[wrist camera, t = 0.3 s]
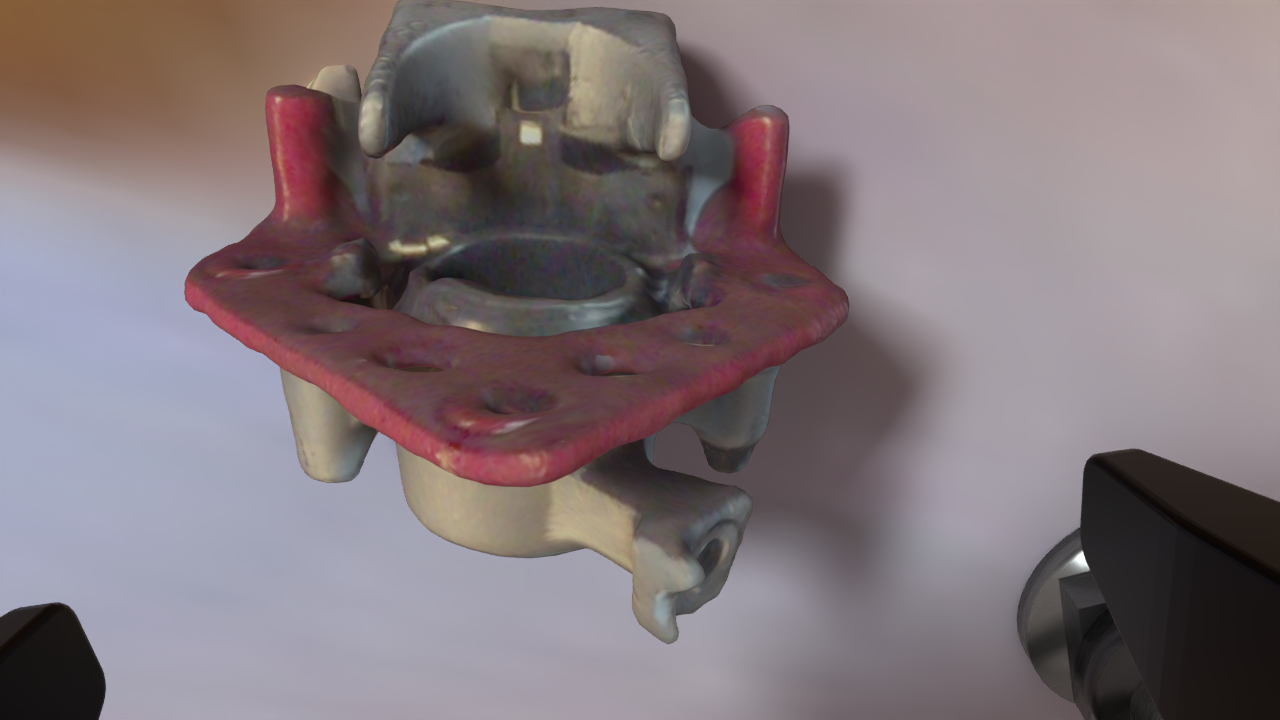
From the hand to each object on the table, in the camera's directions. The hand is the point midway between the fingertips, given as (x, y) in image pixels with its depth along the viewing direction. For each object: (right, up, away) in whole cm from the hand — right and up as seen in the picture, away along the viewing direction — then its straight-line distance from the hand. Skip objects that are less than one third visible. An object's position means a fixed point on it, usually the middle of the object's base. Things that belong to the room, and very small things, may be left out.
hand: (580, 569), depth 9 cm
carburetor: (-2, +5, +13) cm, 15 cm away
